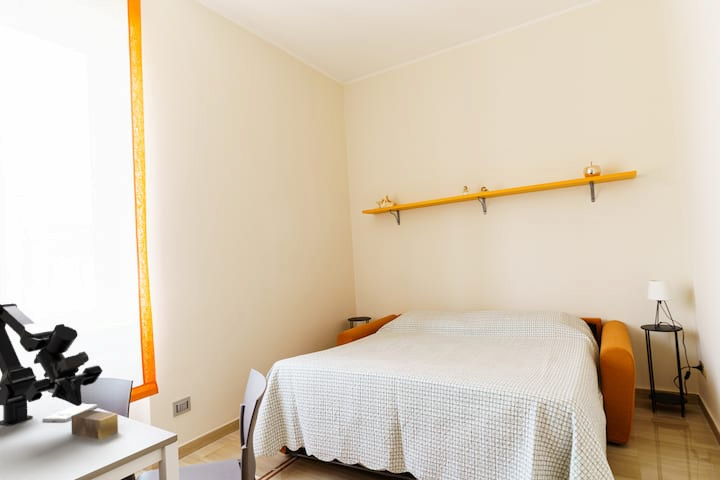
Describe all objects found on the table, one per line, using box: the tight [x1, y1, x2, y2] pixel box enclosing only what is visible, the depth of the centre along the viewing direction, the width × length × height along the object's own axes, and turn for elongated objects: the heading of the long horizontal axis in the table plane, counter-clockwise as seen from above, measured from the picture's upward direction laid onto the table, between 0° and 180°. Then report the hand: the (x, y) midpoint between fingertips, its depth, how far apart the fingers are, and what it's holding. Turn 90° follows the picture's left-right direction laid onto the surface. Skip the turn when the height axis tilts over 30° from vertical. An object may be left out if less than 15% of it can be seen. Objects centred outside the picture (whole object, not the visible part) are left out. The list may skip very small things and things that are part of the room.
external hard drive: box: [42, 403, 99, 423], centre depth 133 cm, size 2×8×12 cm
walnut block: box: [70, 409, 119, 440], centre depth 116 cm, size 5×5×12 cm
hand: (79, 404), depth 119 cm, fingers closed
